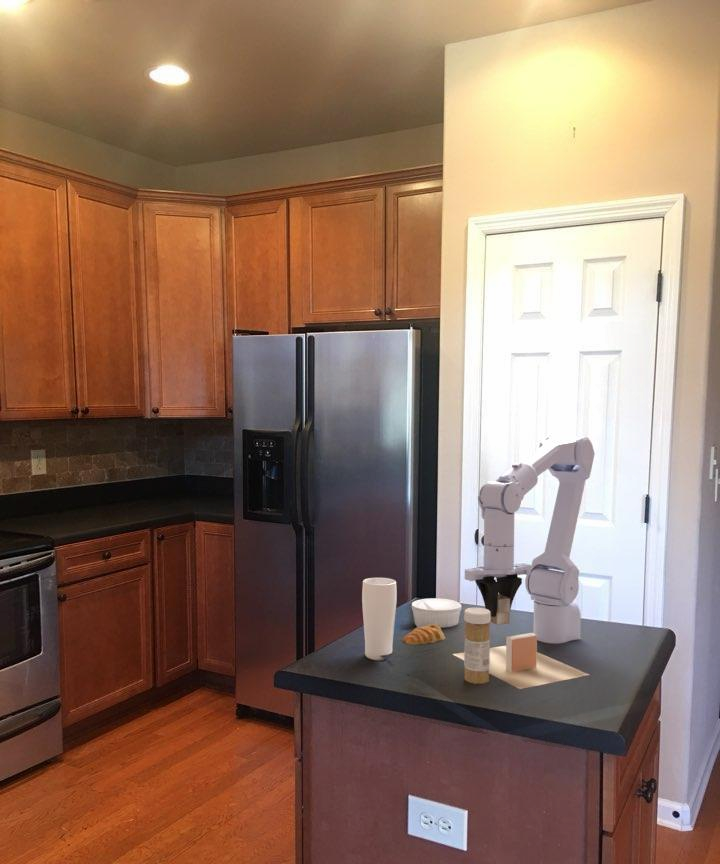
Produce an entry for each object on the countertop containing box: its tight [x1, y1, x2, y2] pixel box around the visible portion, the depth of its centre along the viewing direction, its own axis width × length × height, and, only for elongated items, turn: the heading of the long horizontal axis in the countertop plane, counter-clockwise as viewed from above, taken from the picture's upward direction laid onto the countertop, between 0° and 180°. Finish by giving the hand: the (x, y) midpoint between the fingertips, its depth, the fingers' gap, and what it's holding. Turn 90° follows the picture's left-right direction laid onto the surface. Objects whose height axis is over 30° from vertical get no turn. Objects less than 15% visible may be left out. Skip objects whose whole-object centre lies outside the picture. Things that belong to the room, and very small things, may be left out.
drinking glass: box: [361, 577, 398, 661], centre depth 140 cm, size 7×7×15 cm
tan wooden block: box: [490, 593, 511, 626], centre depth 136 cm, size 3×3×5 cm
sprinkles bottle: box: [463, 607, 491, 685], centre depth 125 cm, size 5×5×13 cm
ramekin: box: [411, 597, 462, 629], centre depth 161 cm, size 11×11×5 cm
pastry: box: [401, 625, 446, 646], centre depth 148 cm, size 9×7×4 cm
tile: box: [505, 632, 538, 672], centre depth 130 cm, size 6×2×6 cm, turn 117°
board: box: [452, 645, 590, 690], centre depth 133 cm, size 16×20×1 cm
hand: (497, 614), depth 137 cm, fingers closed on tan wooden block, 3 cm apart
